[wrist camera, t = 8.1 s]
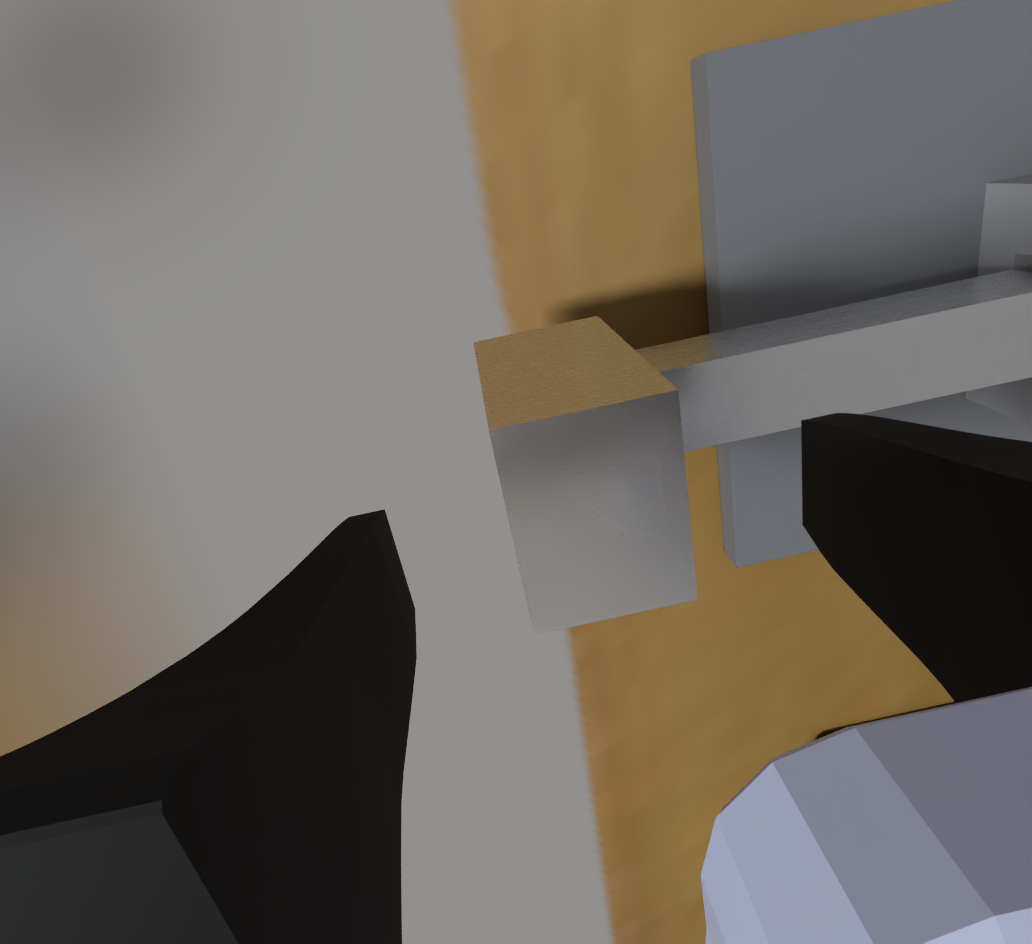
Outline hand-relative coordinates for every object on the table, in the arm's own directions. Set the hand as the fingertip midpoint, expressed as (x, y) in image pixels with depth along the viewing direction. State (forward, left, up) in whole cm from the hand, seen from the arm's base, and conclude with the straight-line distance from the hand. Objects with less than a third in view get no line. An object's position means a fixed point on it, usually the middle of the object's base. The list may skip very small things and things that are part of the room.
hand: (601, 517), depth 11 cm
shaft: (0, -5, -6) cm, 8 cm away
